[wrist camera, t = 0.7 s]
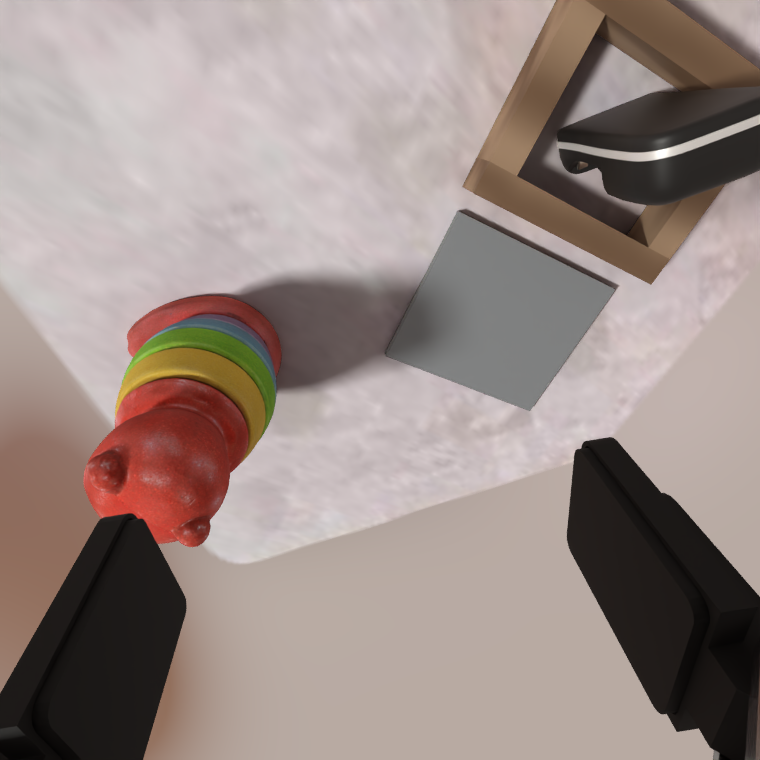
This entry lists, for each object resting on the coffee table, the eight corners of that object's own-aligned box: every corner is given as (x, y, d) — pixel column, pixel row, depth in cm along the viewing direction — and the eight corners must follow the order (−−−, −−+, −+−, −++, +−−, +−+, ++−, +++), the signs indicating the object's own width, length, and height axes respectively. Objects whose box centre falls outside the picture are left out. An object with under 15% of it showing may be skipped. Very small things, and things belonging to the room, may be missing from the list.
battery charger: (558, 189, 33) (654, 222, 23) (550, 131, 32) (649, 140, 22) (658, 151, 33) (799, 169, 23) (655, 90, 31) (807, 80, 21)
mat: (457, 210, 34) (459, 212, 33) (611, 287, 37) (615, 289, 37) (385, 352, 38) (385, 356, 38) (527, 407, 42) (529, 411, 42)
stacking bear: (117, 334, 36) (-46, 503, 20) (221, 259, 34) (127, 384, 18) (217, 429, 41) (146, 624, 25) (313, 369, 39) (300, 540, 23)
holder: (574, -35, 27) (599, -50, 25) (754, 94, 31) (792, 93, 29) (462, 186, 33) (473, 193, 30) (628, 272, 37) (651, 284, 34)
